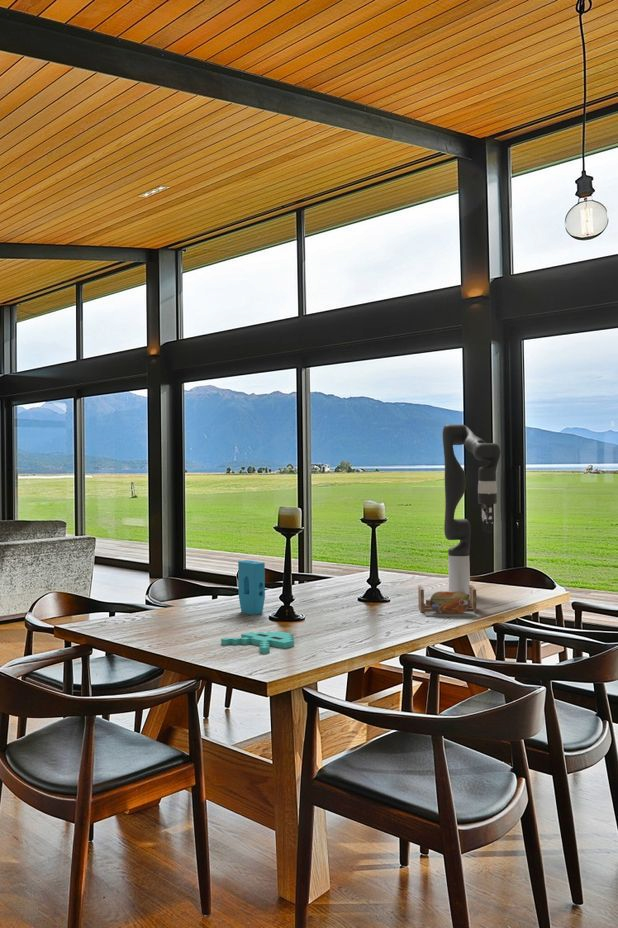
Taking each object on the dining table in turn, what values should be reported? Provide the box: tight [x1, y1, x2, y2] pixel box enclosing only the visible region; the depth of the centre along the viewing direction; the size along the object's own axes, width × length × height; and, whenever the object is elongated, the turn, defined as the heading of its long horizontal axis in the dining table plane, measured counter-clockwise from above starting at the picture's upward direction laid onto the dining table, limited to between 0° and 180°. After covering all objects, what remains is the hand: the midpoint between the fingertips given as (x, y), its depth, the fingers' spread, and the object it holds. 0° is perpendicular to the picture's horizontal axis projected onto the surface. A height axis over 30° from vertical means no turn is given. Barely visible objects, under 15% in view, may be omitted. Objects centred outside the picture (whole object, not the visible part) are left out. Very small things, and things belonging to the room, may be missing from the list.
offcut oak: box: [425, 598, 431, 605], centre depth 312 cm, size 2×5×2 cm, turn 59°
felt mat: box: [424, 612, 477, 618], centre depth 298 cm, size 7×19×1 cm, turn 87°
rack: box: [417, 584, 477, 614], centre depth 308 cm, size 11×21×9 cm, turn 87°
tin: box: [430, 590, 470, 614], centre depth 299 cm, size 15×3×8 cm, turn 85°
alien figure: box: [220, 631, 295, 655], centre depth 254 cm, size 20×2×20 cm
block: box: [237, 559, 266, 616], centre depth 307 cm, size 12×5×20 cm, turn 41°
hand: (487, 532), depth 317 cm, fingers open, 8 cm apart
